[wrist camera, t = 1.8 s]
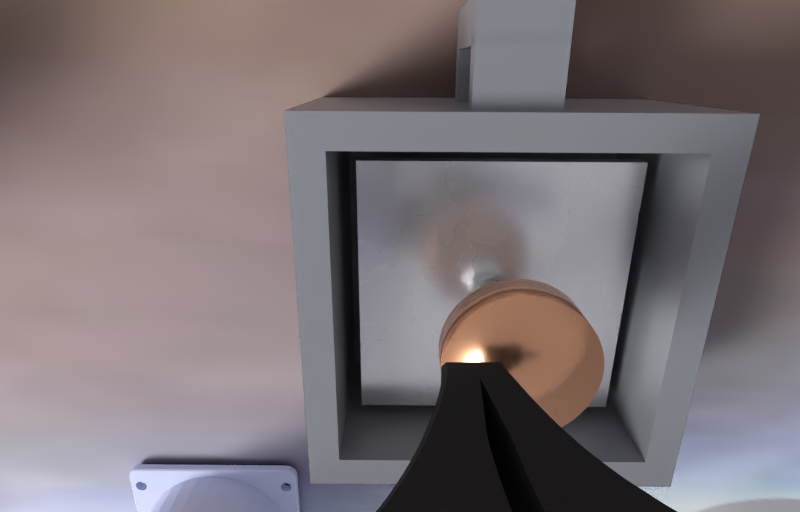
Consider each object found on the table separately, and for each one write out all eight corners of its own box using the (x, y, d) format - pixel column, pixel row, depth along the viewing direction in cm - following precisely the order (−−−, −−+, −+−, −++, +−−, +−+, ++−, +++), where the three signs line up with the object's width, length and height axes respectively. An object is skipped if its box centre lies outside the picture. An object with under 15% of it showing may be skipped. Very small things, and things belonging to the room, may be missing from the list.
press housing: (599, 375, 23) (670, 486, 17) (334, 374, 23) (310, 483, 17) (658, 15, 18) (790, -11, 12) (318, 14, 18) (274, -14, 12)
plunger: (599, 396, 19) (667, 510, 14) (363, 395, 19) (349, 507, 14) (639, 159, 16) (743, 199, 11) (357, 157, 16) (337, 196, 11)
